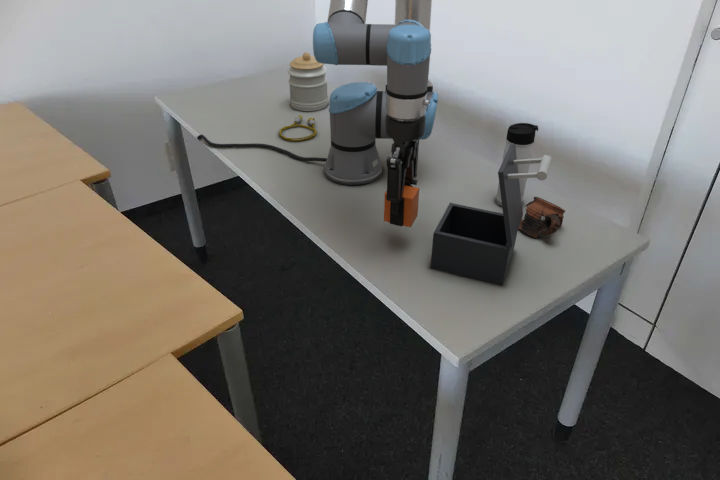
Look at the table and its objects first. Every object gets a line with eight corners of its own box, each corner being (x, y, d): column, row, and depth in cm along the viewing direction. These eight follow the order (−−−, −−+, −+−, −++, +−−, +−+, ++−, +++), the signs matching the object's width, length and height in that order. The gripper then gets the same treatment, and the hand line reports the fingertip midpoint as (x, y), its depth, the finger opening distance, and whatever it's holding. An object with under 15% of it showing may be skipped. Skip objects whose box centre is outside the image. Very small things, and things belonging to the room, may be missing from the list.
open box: (430, 268, 112) (433, 232, 107) (446, 236, 121) (450, 202, 116) (502, 286, 107) (509, 249, 102) (513, 251, 116) (520, 216, 111)
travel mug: (523, 210, 130) (539, 132, 118) (495, 207, 131) (508, 130, 120) (522, 197, 135) (537, 121, 123) (495, 194, 136) (508, 119, 125)
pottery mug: (507, 222, 126) (524, 190, 124) (539, 235, 129) (556, 204, 127) (533, 240, 115) (552, 205, 113) (567, 253, 118) (586, 219, 116)
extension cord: (331, 127, 170) (331, 121, 169) (300, 145, 160) (299, 139, 158) (301, 119, 176) (300, 113, 175) (268, 136, 165) (268, 129, 164)
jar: (296, 96, 192) (293, 45, 182) (332, 99, 190) (330, 47, 180) (285, 110, 182) (280, 57, 172) (322, 113, 180) (320, 59, 169)
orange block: (383, 221, 115) (384, 193, 111) (391, 210, 118) (392, 182, 114) (410, 227, 113) (412, 198, 109) (417, 216, 116) (419, 188, 112)
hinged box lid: (497, 172, 94) (544, 169, 91) (510, 144, 104) (552, 140, 100) (507, 247, 102) (550, 247, 98) (518, 214, 111) (558, 214, 108)
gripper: (409, 136, 94) (403, 244, 108) (438, 100, 107) (429, 201, 121) (369, 129, 96) (368, 236, 110) (402, 95, 110) (398, 194, 123)
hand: (400, 217), depth 116 cm, fingers closed on orange block, 5 cm apart
